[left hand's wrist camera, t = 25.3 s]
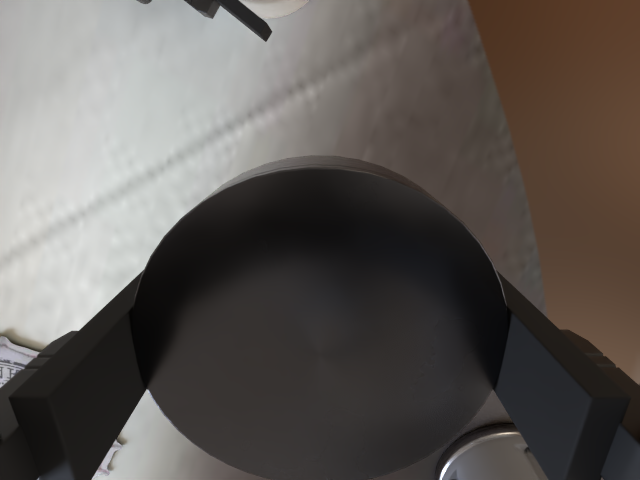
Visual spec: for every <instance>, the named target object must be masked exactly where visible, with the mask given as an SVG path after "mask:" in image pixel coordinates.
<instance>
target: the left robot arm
mask: <svg viewBox="0 0 640 480" xmlns="http://www.w3.org/2000/svg"><path fill="white" fill-rule="evenodd" d="M143 271H144V270H143ZM143 271H142V272H141V273H140V274H139V275H138V276H137V277H136V278H135V279H134V280H133V281H132V282H130V283H129V284H128V285H127V286H126V287H125V288H124V289H123V290H122V291H121V292H120V293H119V294H118V295H117V296H116V297H114V298H113V299H112V300H111V301H110V302H109V303H108V304H107V305H106V306H105V307H104V308H103V309H102V310H101V311H100V312H99V313H97V314H96V315H95V316H94V317H93V318H92V319H91V320H90V321H89V322H88V323H87V324H86V325H85V326H84V327H83V328H81V329H80V330H79V331H71V332H69V333H67V334H65V335H64V336H62V337H60V338H58V339H56V340H55V341H53V342H51V343H50V344H49V345H48V346H47V347H46V348H45V349H44V350H42V351H41V352H40V353H39V354H38V355H37V358H33V359H32V360H31V361H30V362H29V363H28V364H27V365H25V368H24V369H21V370H20V371H19V372H18V373H16V374H15V375H14V376H13V377H12V378H11V379H10V380H9V381H7V382H6V383H5V384H4V385H3V386H2V387H1V388H0V480H37V479H38V478H39V480H92V478H93V476H94V475H95V473H96V471H97V470H98V468H99V466H100V465H101V463H102V462H103V460H104V458H105V457H106V455H107V453H108V452H109V450H110V448H111V447H112V445H113V443H114V442H115V440H116V439H117V437H118V435H119V434H120V432H121V430H122V429H123V427H124V425H125V424H126V422H127V420H128V419H129V417H130V416H131V414H132V412H133V411H134V409H135V407H136V406H137V404H138V402H139V401H140V399H141V397H142V396H143V394H144V393H145V391H146V389H147V387H146V385H145V383H144V382H143V379H142V376H141V373H140V371H139V368H138V364H137V359H136V355H135V350H134V345H133V340H132V314H133V306H134V298H135V295H136V291H137V288H138V285H139V281H140V278H141V275H142V273H143ZM496 271H497V270H496ZM497 273H498V276H499V278H500V280H501V283H502V287H503V291H504V295H505V299H506V303H507V314H508V338H507V343H506V349H505V353H504V358H503V363H502V367H501V371H500V373H499V376H498V378H497V381H496V384H495V386H494V388H493V390H494V391H495V393H496V395H497V396H498V398H499V399H500V401H501V403H502V404H503V406H504V408H505V409H506V411H507V413H508V414H509V416H510V418H511V419H512V421H513V422H514V424H499V425H492V426H488V427H484V428H481V429H477V430H475V431H473V432H470V433H468V434H466V435H465V436H463V437H461V438H460V439H458V440H457V441H455V442H454V443H453V444H452V445H451V446H450V447H449V448H448V449H447V450H446V451H445V452H444V454H443V455H442V457H441V458H440V460H439V462H438V465H437V468H436V473H435V480H601V477H603V479H604V480H640V386H639V385H638V384H637V383H635V382H634V381H633V380H632V379H631V378H630V377H629V376H628V375H626V374H625V373H624V372H623V371H622V370H621V369H620V368H616V366H615V364H614V363H613V362H612V361H611V360H609V359H608V358H607V357H606V356H603V353H602V352H600V351H599V350H598V349H597V348H596V347H595V346H594V345H592V344H591V343H590V342H589V341H588V340H586V339H584V338H582V337H581V336H579V335H577V334H575V333H573V332H571V331H570V330H559V329H558V328H557V327H556V326H555V325H554V324H553V323H552V322H551V321H550V320H549V319H548V318H547V317H545V316H544V315H543V314H542V313H541V312H540V311H539V310H538V309H537V308H536V307H535V306H534V305H533V304H532V303H531V302H530V301H528V300H527V299H526V298H525V297H524V296H523V295H522V294H521V293H520V292H519V291H518V290H517V289H516V288H515V287H514V286H512V285H511V284H510V283H509V282H508V281H507V280H506V279H505V278H504V277H503V276H502V275H501V274H500V273H499V272H498V271H497Z"/></svg>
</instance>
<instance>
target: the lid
mask: <svg viewBox="0 0 640 480" xmlns="http://www.w3.org/2000/svg"><path fill="white" fill-rule="evenodd" d="M507 338H508V314H507V303H506V299H505V295H504V291H503V287H502V283H501V280H500V278H499V276H498V273H497V271H496V269H495V266H494V264H493V262H492V260H491V258H490V257H489V255H488V254H487V252H486V250H485V249H484V247H483V246H482V244H481V242H480V241H479V240H478V239H477V238H476V236H475V235H474V234H473V233H472V232H471V231H470V229H469V228H468V227H467V226H466V225H465V224H464V223H463V222H462V221H461V220H460V219H459V218H458V217H456V216H455V215H454V214H453V213H452V212H451V211H449V210H448V209H447V208H446V207H445V206H443V205H442V204H441V203H440V202H439V201H437V200H436V199H435V198H434V197H432V196H431V195H430V194H429V193H428V192H426V191H425V190H424V189H423V188H421V187H420V186H418V185H417V184H415V183H413V182H412V181H410V180H409V179H407V178H405V177H404V176H402V175H400V174H398V173H395V172H393V171H391V170H389V169H387V168H384V167H382V166H379V165H376V164H372V163H369V162H365V161H362V160H358V159H352V158H345V157H339V156H303V157H295V158H287V159H283V160H279V161H275V162H271V163H267V164H264V165H261V166H259V167H256V168H254V169H251V170H249V171H246V172H244V173H242V174H240V175H238V176H237V177H235V178H233V179H232V180H230V181H228V182H226V183H225V184H223V185H222V186H220V187H219V188H218V189H217V190H215V191H214V192H213V193H212V194H210V195H209V196H208V197H206V198H205V199H204V200H203V201H202V202H200V203H199V204H198V205H197V206H195V207H194V208H193V209H192V210H191V211H189V212H188V213H187V214H186V215H185V216H183V217H182V218H181V219H180V220H179V221H178V222H177V223H176V224H175V225H174V226H173V228H172V229H171V230H170V231H169V232H168V233H167V234H166V235H165V236H164V237H163V239H162V240H161V242H160V243H159V245H158V246H157V248H156V249H155V251H154V252H153V253H152V255H151V256H150V259H149V261H148V263H147V265H146V267H145V269H144V271H143V273H142V275H141V278H140V281H139V285H138V288H137V291H136V295H135V298H134V306H133V314H132V340H133V345H134V350H135V355H136V359H137V364H138V368H139V371H140V373H141V376H142V379H143V382H144V383H145V385H146V387H147V389H148V391H149V393H150V395H151V397H152V399H153V400H154V402H155V403H156V404H157V406H158V407H159V409H160V410H161V412H162V413H163V414H164V416H165V417H166V418H167V419H168V420H169V421H170V422H171V423H172V424H173V426H174V427H175V428H176V429H177V430H178V431H179V432H180V433H182V434H183V435H184V436H185V437H186V438H187V439H189V440H190V441H191V442H192V443H193V444H195V445H196V446H198V447H199V448H200V449H202V450H203V451H205V452H206V453H208V454H209V455H211V456H213V457H215V458H217V459H218V460H220V461H222V462H224V463H226V464H228V465H230V466H233V467H235V468H237V469H240V470H242V471H245V472H247V473H251V474H254V475H257V476H261V477H264V478H268V479H273V480H368V479H372V478H376V477H379V476H383V475H386V474H390V473H392V472H395V471H397V470H400V469H403V468H405V467H408V466H410V465H412V464H414V463H416V462H418V461H420V460H422V459H424V458H426V457H427V456H429V455H430V454H432V453H433V452H435V451H437V450H438V449H440V448H441V447H443V446H444V445H445V444H446V443H448V442H449V441H450V440H451V439H453V438H454V437H455V436H456V435H457V434H459V433H460V432H461V431H462V430H463V429H464V428H465V426H466V425H467V424H468V423H469V422H470V421H471V420H472V419H473V418H474V417H475V415H476V414H477V413H478V411H479V410H480V409H481V407H482V406H483V405H484V403H485V402H486V400H487V398H488V396H489V395H490V393H491V391H492V389H493V388H494V386H495V384H496V381H497V378H498V376H499V373H500V371H501V367H502V363H503V358H504V353H505V349H506V343H507Z"/></svg>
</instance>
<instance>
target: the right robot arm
mask: <svg viewBox="0 0 640 480" xmlns="http://www.w3.org/2000/svg"><path fill="white" fill-rule="evenodd" d="M137 1H139V2H140V3H143V4H148V3H150V2H151V1H152V0H137ZM184 1H186V2H187V3H188V4H189V5H191V6H192V7H193V8H195V9H196V10H197V11H198V12H200V13H201V14H202V15H203V16H205V17H209V18H212V19H213V17H214V15H215V14H216V12H217V10H218V8H219V6H220V5H221V6H222V7H223V8H224V9H226V10H227V11H228V12H229V13H231V14H232V15H233V16H234V17H236V18H237V19H238V20H239V21H240V22H242V23H243V24H244V25H245V26H247V27H248V28H249V29H250V30H252V31H253V32H254V33H255V34H257V35H258V36H259V37H260V38H262V39H263V40H264V41H265V42H266V41H267V40H268V38H269V36H270V35H271V33H272V31H271V29H270V27H269V26H268V24H267V23H266V22H265V21H264V20H262V19H261V18H260V17H259V16H257V15H256V14H255V13H254V12H253V11H251V10H250V9H249V8H248V7H246V6H245V5H244V4H243V3H241V2H240V1H239V0H184Z"/></svg>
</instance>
